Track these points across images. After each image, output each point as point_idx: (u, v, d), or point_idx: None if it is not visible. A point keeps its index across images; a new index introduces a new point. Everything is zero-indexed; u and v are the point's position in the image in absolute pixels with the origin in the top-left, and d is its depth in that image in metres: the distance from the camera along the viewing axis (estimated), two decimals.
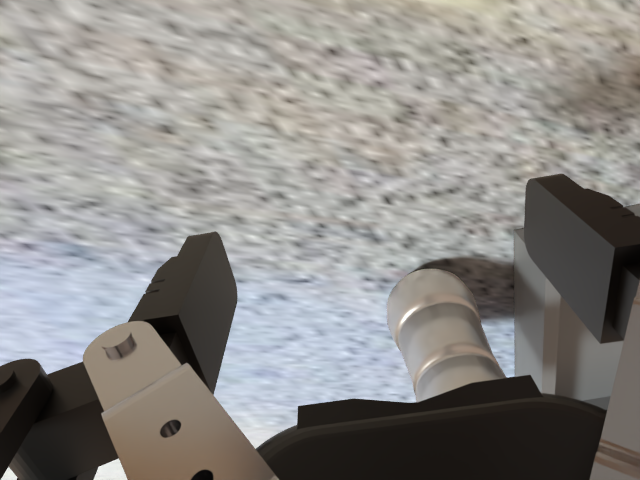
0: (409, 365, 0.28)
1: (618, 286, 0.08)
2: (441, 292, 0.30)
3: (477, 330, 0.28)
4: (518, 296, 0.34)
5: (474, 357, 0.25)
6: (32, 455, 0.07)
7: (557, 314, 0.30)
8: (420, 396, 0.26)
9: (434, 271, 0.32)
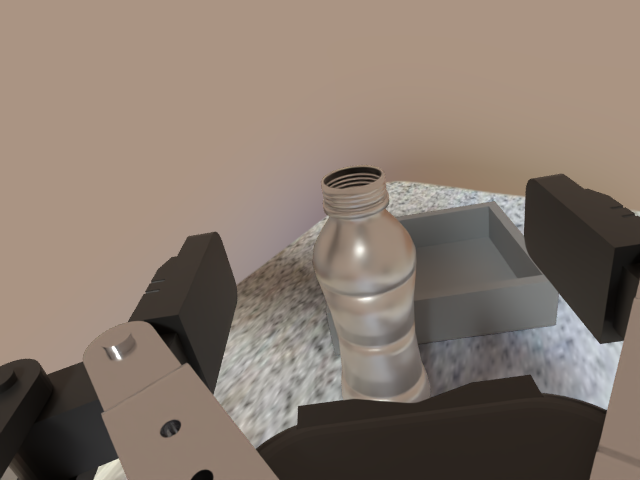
0: (373, 367, 0.30)
1: (618, 286, 0.08)
2: None
3: None
4: None
5: None
6: (32, 455, 0.07)
7: None
8: (359, 334, 0.28)
9: None
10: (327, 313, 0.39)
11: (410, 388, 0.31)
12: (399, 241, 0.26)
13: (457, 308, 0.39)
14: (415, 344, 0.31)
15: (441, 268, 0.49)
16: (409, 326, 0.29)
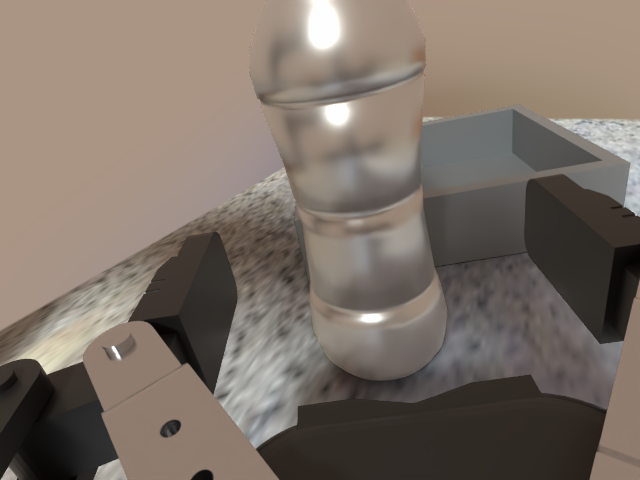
0: (354, 256, 0.18)
1: (619, 287, 0.08)
2: None
3: None
4: None
5: None
6: (32, 455, 0.07)
7: None
8: (328, 191, 0.17)
9: None
10: (295, 220, 0.28)
11: (416, 297, 0.19)
12: (395, 0, 0.14)
13: (480, 211, 0.28)
14: (424, 224, 0.19)
15: (453, 185, 0.37)
16: (414, 183, 0.17)
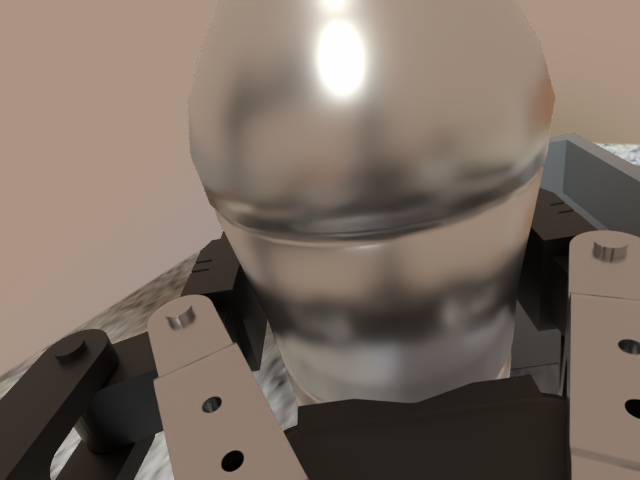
0: None
1: (551, 277, 0.09)
2: None
3: None
4: None
5: None
6: (94, 421, 0.08)
7: None
8: (345, 381, 0.08)
9: None
10: None
11: None
12: (509, 8, 0.06)
13: None
14: None
15: None
16: (506, 352, 0.09)
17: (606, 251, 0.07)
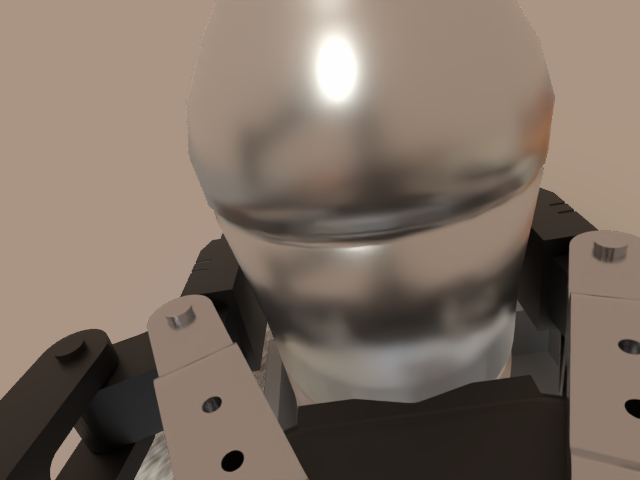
0: None
1: (551, 277, 0.09)
2: None
3: None
4: None
5: None
6: (94, 421, 0.08)
7: None
8: (345, 382, 0.08)
9: None
10: None
11: None
12: (509, 7, 0.06)
13: None
14: None
15: None
16: (506, 353, 0.09)
17: (606, 251, 0.07)
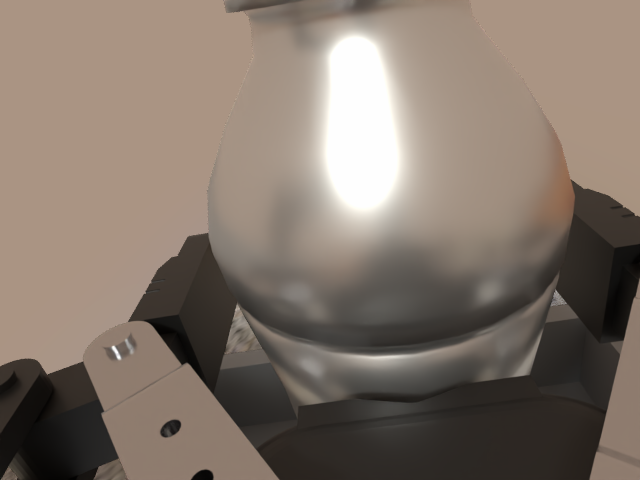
0: None
1: (618, 286, 0.08)
2: None
3: None
4: None
5: None
6: (32, 455, 0.07)
7: None
8: None
9: None
10: None
11: None
12: (533, 123, 0.06)
13: None
14: None
15: None
16: None
17: None
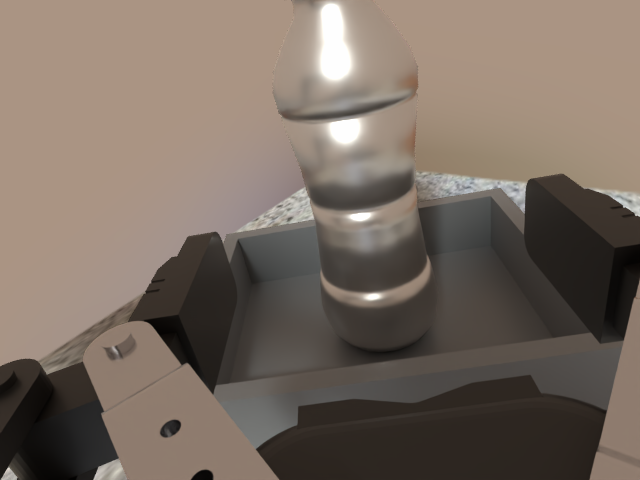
0: (359, 244, 0.21)
1: (618, 287, 0.08)
2: None
3: None
4: None
5: None
6: (32, 455, 0.07)
7: (253, 382, 0.20)
8: (338, 190, 0.20)
9: None
10: None
11: (410, 279, 0.23)
12: (393, 37, 0.18)
13: None
14: (417, 218, 0.23)
15: None
16: (409, 183, 0.21)
17: None
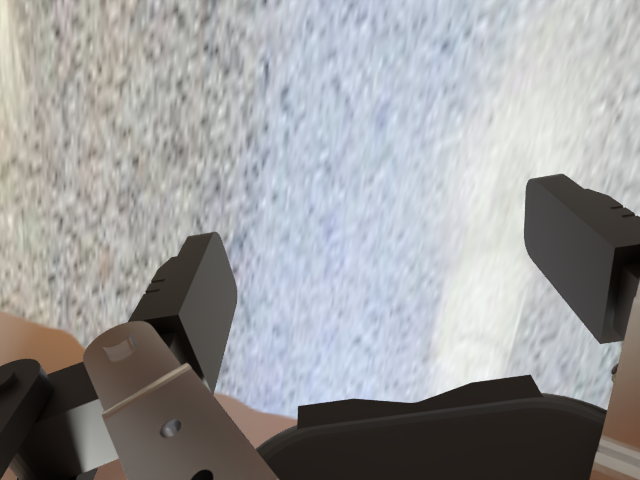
0: None
1: (618, 287, 0.08)
2: None
3: None
4: None
5: None
6: (32, 455, 0.07)
7: None
8: None
9: None
10: None
11: None
12: None
13: None
14: None
15: None
16: None
17: None
